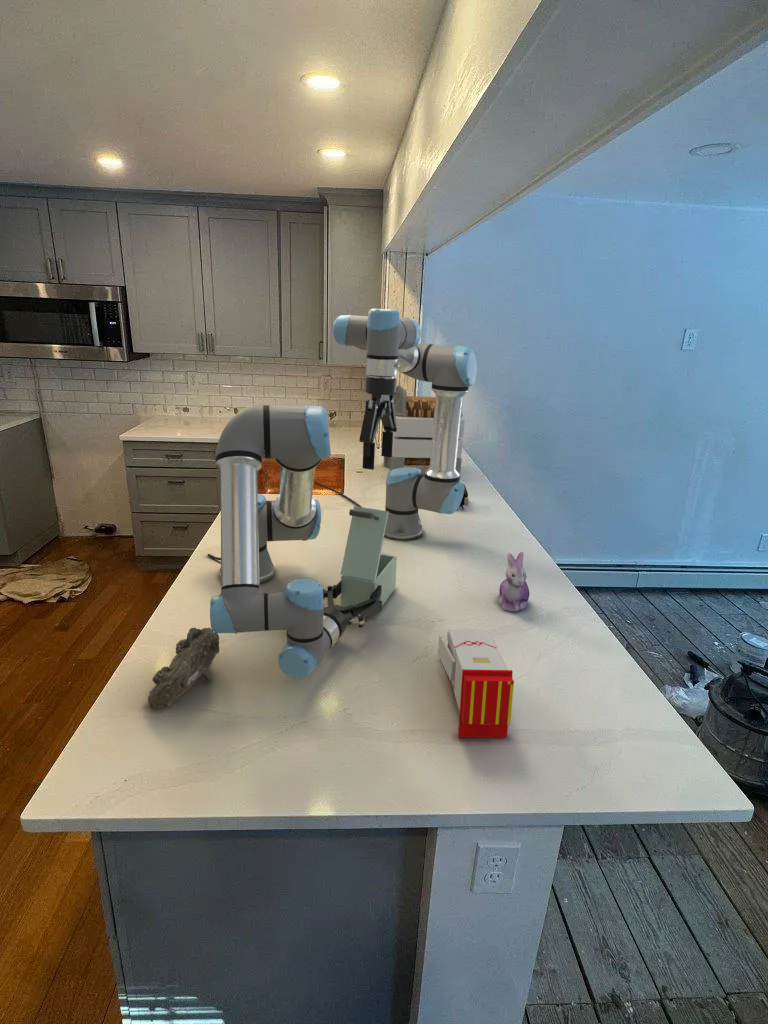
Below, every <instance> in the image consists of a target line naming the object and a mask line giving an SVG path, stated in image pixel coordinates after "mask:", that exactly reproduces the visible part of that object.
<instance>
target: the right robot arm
mask: <svg viewBox="0 0 768 1024" xmlns="http://www.w3.org/2000/svg"><path fill="white" fill-rule="evenodd" d="M332 335H333V338H334V341H335V342H336V343H337V344H338V345H341V346H342V345H343V346H346V347H350V346H351V347H355V348H357V349H358V350H361V351H364V352H365V353H366V357H365V374H366V376H367V377H365V388H364V390H365V393H367V394H370V395H371V398H370V399H366V400H365V408H364V414H363V420H362V425H361V430H360V434H359V443H363V444H362V469H364V470H365V469H366V470H372V471H374V470H375V457H376V454H375V453H376V442H374V441H375V438H376V434H377V431H378V428H379V423H380V421H381V424H382V427H383V431H382V432H381V433H382V435H381V457H384V456H385V457H392V447H393V432H396V431H397V428H396V426H397V425H396V417H395V408H394V394H395V393H396V388H397V386H398V385H397V382H398V379H397V378H396V377H397V375H398V372H399V373H401V374H403V375H405V376H407V377H409V378H412V379H414V380H417V381H420V382H427V383H431V391H433V393H434V394H435V397H436V399H435V411H434V423H433V434H432V446H431V458H430V466H428V468H427V469H426V470H424V474H422V470H421V468H419V467H415V466H411V467H410V466H406V467H405V466H404V468H397V469H393V470H391V471H390V470H389V471H388V473H387V475H386V480H385V481H386V482H385V504H384V505H385V507H384V508H385V509H384V511H388V512H389V514H388V519H387V524H386V529H385V535H384V538H387V539H389V540H395V541H410V540H415V539H418V538H420V537H421V536H422V535H423V525H422V524H421V523H422V521H421V518H420V515H419V510H423V511H427V512H434V513H437V514H440V515H442V514H444V515H453V514H454V513H456V512H457V510H458V509H459V508H460V507H459V505H460V503H461V501H462V498H463V494H464V489H465V487H466V486H465V487H464V485H465V482H464V481H462V480H460V481H459V477H460V478H461V474H459V473H458V472H457V471H456V461H457V450H458V440H459V430H460V420H461V418H462V417H461V412H462V409H463V408H462V407H463V399H464V396H465V395H466V394H467V393H468V392H469V389H470V388H471V387H473V386H474V385H475V383H476V378H477V373H478V367H477V366H478V365H477V358H476V355H475V353H474V351H473V349H472V348H471V347H468V346H462V345H451V344H450V345H449V344H436V343H435V344H434V343H433V344H432V343H420V341H421V337H422V329H421V326H420V324H419V323H418V321H416V320H415V319H413V318H410V317H401V313H400V311H399V310H398V309H395V308H394V309H393V308H392V309H391V308H390V309H389V308H371V309H369V310H368V312H367V315H353V314H343V315H342V314H341V315H339V316H337V317H336V318H335V320H334V322H333V328H332ZM278 467H279V469H280V465H279V464H278ZM313 484H315V485H317V486H319V487H321V488H325V489H327V490H329V491H332V492H333V493H335V494H338V495H339V496H341V497H343V498H345V499H346V500H347V501H350V502H351V503H352V504H354V505H355V506H357V507H362V505H360V504H359V503H358V502H356V501H355V500H354V499H352V498H350V497H348V496H347V495H345V494H343V493H342V492H340V491H338V490H336V489H333V488H331V487H329V486H327V485H324V484H322V483H319V482H317V481H314V483H313Z"/></svg>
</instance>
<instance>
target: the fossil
mask: <svg viewBox="0 0 768 1024" xmlns="http://www.w3.org/2000/svg"><path fill="white" fill-rule="evenodd" d="M219 653H220V635H219V633H215V632H214V631H213V630H212V628H211V627H204V628H201V629H200V628H196V627H191V628H189V630H188V632H187V633H186V638H184V639H180V640H178V642H177V643H176V644H175V654H176V655H175V656H174V658H172V661H170V664H169V666H162V667H161V669H159V670H158V671H157V672H156V673H154V675H153V677H152V679H151V681H152V682H153V683H154V684H155V686H154V687H153V688H152V689H151V690H149V692H148V694H149V695H148V696H147V703H148V705H149V706H152V707H154V708H156V709H158V708H162V707H166V706H168V707H169V706H171V705H173V703H174V702H175V701H176V700H178V699H179V698H180V697H181V696H183V695H184V694H185V693H186V692H187V691H188V690H189V689H190V688H191V687H193V685H194V684H195V682H196V680H197V679H199V678H200V677H202V678H203V680H205V681H206V682H208V681H209V678H208V677H207V675H205V674H204V673H203V672H204V671H205V670H206V669H208V668H210V666H211V665H212V664H213V661H214V659H215V658H216V656H217V655H218V654H219Z"/></svg>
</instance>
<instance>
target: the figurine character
mask: <svg viewBox="0 0 768 1024" xmlns="http://www.w3.org/2000/svg"><path fill="white" fill-rule="evenodd" d="M464 487H465V489H464V494H463V498H462V501H461V503H460V505H459V507H458V508H461V510H462V511H464V510H465V507H468V506H469V502H470V501H469V492H468V490H467V487H466V485H465V484H464Z"/></svg>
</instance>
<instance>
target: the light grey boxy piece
mask: <svg viewBox="0 0 768 1024" xmlns="http://www.w3.org/2000/svg"><path fill="white" fill-rule="evenodd" d="M407 394H408V393H407V390H406V389H404V388H403V387H402V385H399V384H398V385H397V386H396V393H395V394H394V408H395V417H396V425H397V426H396V428H397V431H396V432H393V447H392V457H385V456H383V466H384V467H388V468H389V472H390V471H391V470H393V469H397V468H404V467H405V466H406V467H410V466H411V467H417V466H418V467H430V458H431V446H432V434H433V423H434V411H435V399H436V396H415V395H414V396H413V395H412V396H411V395H407ZM464 429H465V419H464V418H463V411H461V420H460V430H459V440H458V450H457V461H456V471H457V472H458V473H459V474H460V475H461V472H462V461H463V460H462V453H463V442H464V441H463V440H462V439H463V438H464V431H465V430H464ZM459 481H461V476H460V477H459Z"/></svg>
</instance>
